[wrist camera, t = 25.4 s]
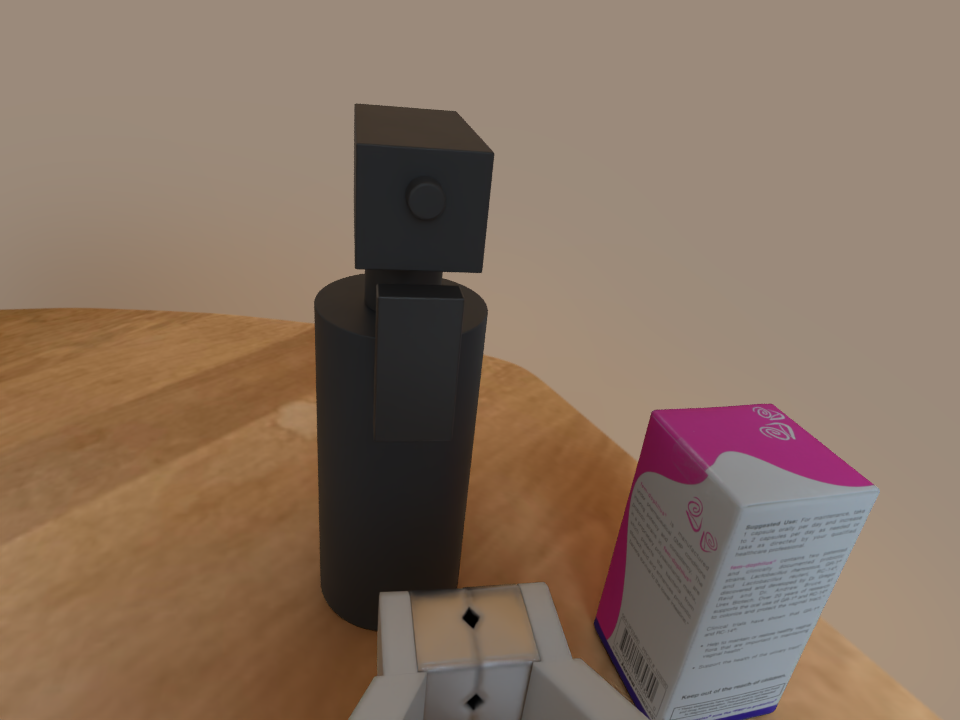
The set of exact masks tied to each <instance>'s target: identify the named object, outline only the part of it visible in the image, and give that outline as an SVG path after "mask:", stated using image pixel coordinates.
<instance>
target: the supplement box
mask: <svg viewBox="0 0 960 720" xmlns="http://www.w3.org/2000/svg"><path fill="white" fill-rule="evenodd" d="M879 493H880V490H879V488H877V487H876V486H875V485H874V484H872V483H871V482H870V481H869V480H867V479H866V478H865V477H863V476H862V475H861V474H859V473H858V472H857V471H856V470H855V469H853V468H852V467H851V466H849V465H848V464H847V463H846V462H845V461H843V460H842V459H841V458H839V457H838V456H837V455H836V454H834V453H833V452H832V451H831V450H829V449H828V448H827V447H826V446H824V445H823V444H822V443H821V442H819V441H818V440H817V439H816V438H814V437H813V436H812V435H811V434H809V433H808V432H807V431H805V430H804V429H803V428H802V427H800V426H799V425H798V424H797V423H795V422H794V421H793V420H792V419H790V418H789V417H788V416H787V415H785V414H784V413H783V412H782V411H780V410H779V409H778V408H777V407H775V406H774V405H773V404H754V405H740V406H728V407H711V408H690V409H689V408H688V409H667V410H666V409H665V410H654V411H652V413H651V416H650V420H649V424H648V427H647V431H646V435H645V439H644V443H643V447H642V450H641V454H640V458H639V461H638V465H637V468H636V472H635V476H634V479H633V483H632V487H631V490H630V494H629V498H628V501H627V505H626V508H625V512H624V516H623V520H622V523H621V527H620V530H619V534H618V538H617V541H616V545H615V549H614V552H613V556H612V560H611V564H610V567H609V571H608V575H607V578H606V582H605V586H604V589H603V593H602V596H601V600H600V603H599V607H598V610H597V614H596V618H595V621H594V626H595V629H596V631H597V633H598V635H599V637H600V638H601V640H602V643H603V644H604V646H605V648H606V650H607V652H608V654H609V656H610V658H611V660H612V662H613V664H614V666H615V667H616V669H617V671H618V673H619V675H620V677H621V679H622V681H623V683H624V685H625V686H626V688H627V690H628V692H629V694H630V696H631V698H632V700H633V702H634V704H635V705H636V707H637V709H638V710H639V711H640V712H642V713H643V714H644V715H645V716H646V717H647V718H648V719H649V720H745V719H748V718H752V717H757V716H761V715H765V714H769V713H772V712H773V711H774V710H775V709H776V707H777V704H778V702H779V700H780V698H781V696H782V694H783V692H784V690H785V688H786V686H787V684H788V682H789V679H790V677H791V675H792V673H793V671H794V669H795V667H796V665H797V662H798V660H799V658H800V656H801V654H802V652H803V650H804V648H805V646H806V643H807V641H808V639H809V637H810V635H811V633H812V631H813V629H814V627H815V625H816V623H817V621H818V619H819V617H820V615H821V613H822V610H823V608H824V606H825V604H826V602H827V600H828V598H829V596H830V594H831V592H832V590H833V588H834V585H835V583H836V581H837V579H838V577H839V575H840V573H841V571H842V569H843V567H844V565H845V563H846V561H847V558H848V556H849V554H850V552H851V550H852V548H853V546H854V544H855V542H856V540H857V538H858V536H859V534H860V532H861V529H862V527H863V526H864V524H865V521H866V519H867V517H868V515H869V513H870V511H871V509H872V507H873V504H874V503H875V501H876V499H877V496H878V495H879Z"/></svg>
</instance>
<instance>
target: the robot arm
mask: <svg viewBox="0 0 960 720" xmlns="http://www.w3.org/2000/svg"><path fill="white" fill-rule="evenodd" d="M348 720H649V719H648V718H647V717H646V716H645V715H644V714H643V713H642V712H640V711H639V710H638V709H637V708H636V707H635V706H634V705H633V704H631V703H630V702H629V701H628V700H627V699H626V698H625V697H624V696H622V695H621V694H620V693H619V692H618V691H617V690H616V689H615V688H613V687H612V686H611V685H610V684H609V683H608V682H607V681H605V680H604V679H603V678H602V677H601V676H600V675H599V674H598V673H596V672H595V671H594V670H593V669H592V668H591V667H590V666H589V665H587V664H586V663H585V662H584V661H583V660H582V659H581V658H576V659H572V656H571V653H570V650H569V647H568V644H567V641H566V638H565V635H564V632H563V629H562V626H561V623H560V621H559V618H558V615H557V612H556V609H555V606H554V603H553V600H552V597H551V594H550V591H549V588H548V586H547V585H546V584H545V583H544V582H537V583H523V584H517V585H516V584H504V585H491V586H478V587H465V588H462V589H436V590H410V591H409V592H408V591H395V592H380V594H379V607H378V633H377V676H375V677H374V678H373V680H372V682H371V683H370V685H369V687H368V688H367V690H366V691H365V693H364V695H363V696H362V698H361V699H360V701H359V703H358V704H357V706H356V708H355V709H354V711H353V712H352V714H351V716H350V717H349V719H348Z"/></svg>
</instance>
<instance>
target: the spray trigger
mask: <svg viewBox="0 0 960 720" xmlns="http://www.w3.org/2000/svg"><path fill="white" fill-rule="evenodd" d="M464 303H465V299H464V296H463V294H462V291H461V288H460V286H448V285H411V284H377V286H376V323H375V364H374V404H373V433H374V441H375V442H398V441H449V440H451V439H452V433H453V422H454V411H455V400H456V389H457V379H458V368H459V357H460V346H461V335H462V325H463V314H464Z"/></svg>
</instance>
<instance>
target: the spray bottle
mask: <svg viewBox="0 0 960 720" xmlns="http://www.w3.org/2000/svg"><path fill="white" fill-rule="evenodd" d="M354 116H355V119H354V121H355V122H354V126H355V127H354V232H355V233H354V238H355V269H365V274H359V275H354V276H349V277H346V278H343V279H340V280H337V281H334V282H332V283H330V284H328V285H327V286H325V287H324V288H323V289H322V290H321V291H319V293H318V294H317V296H316V298H315V301H314V310H315V355H316V399H317V443H318V487H319V531H320V576H321V589H322V593H323V595H324V598H325V600H326V601H327V603H328V605H329V606H330V607H331V608H332V610H333V611H334V612H335V613H336V614H338V615H339V616H340V617H341V618H343V619H344V620H346V621H348V622H349V623H352V624H354V625H356V626H359V627H362V628H365V629H370V630H375V631H378V607H379V594H380V592H395V591H408V592H409V591H410V590H436V589H456V588H457V584H458V575H459V566H460V557H461V548H462V539H463V530H464V521H465V512H466V503H467V494H468V485H469V476H470V467H471V458H472V449H473V441H474V432H475V423H476V414H477V405H478V396H479V387H480V378H481V369H482V360H483V350H484V342H485V332H486V324H487V315H488V310H487V306H486V303H485V302H484V300H483V299H482V298H481V297H480V296H479V295H478V294H477V293H475V292H474V291H472V290H471V289H469V288H467V287H465V286H463V285H461V284H458V283H456V282H453V281H450V280H447V279H443V278H442V273H443V272H468V273H481V272H482V268H483V258H484V248H485V239H486V229H487V219H488V210H489V199H490V190H491V181H492V170H493V161H494V153H493V151H492V150H491V149H490V148H489V147H488V146H487V145H486V143H485V142H484V141H483V140H482V139H481V138H480V137H479V136H478V135H477V134H476V133H475V132H474V130H473V129H472V128H471V127H470V126H469V125H468V124H467V123H466V122H465V121H464V119H463V118H462V117H461V116H460V115H459V114H458V113H457V112H456V111H444V110H431V109H418V108H406V107H405V108H404V107H393V106H380V105H368V104H367V105H366V104H355V115H354ZM377 284H411V285H448V286H460V288H461V291H462V294H463V296H464V299H465V303H464V314H463V325H462V335H461V346H460V357H459V368H458V379H457V389H456V400H455V411H454V422H453V433H452V439H451V440H449V441H398V442H375V441H374V433H373V404H374V364H375V323H376V286H377Z"/></svg>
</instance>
